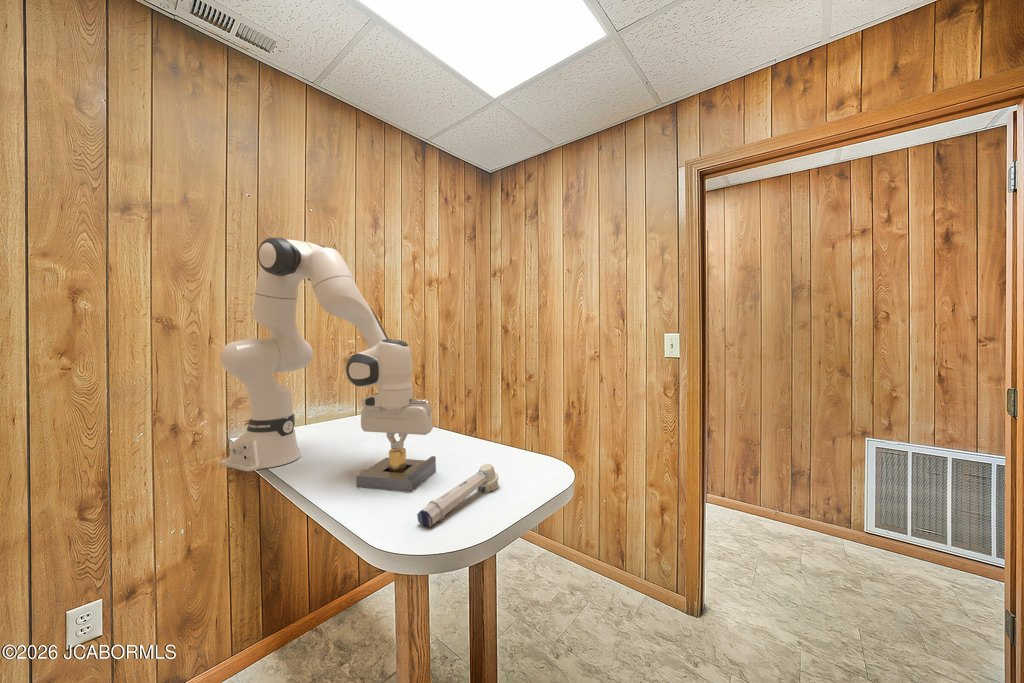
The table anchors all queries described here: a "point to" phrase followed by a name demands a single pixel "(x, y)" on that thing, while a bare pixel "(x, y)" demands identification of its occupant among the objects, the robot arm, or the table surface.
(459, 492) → the beige piece
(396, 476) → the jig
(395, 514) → the table surface
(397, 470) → the gold metallic cylinder
